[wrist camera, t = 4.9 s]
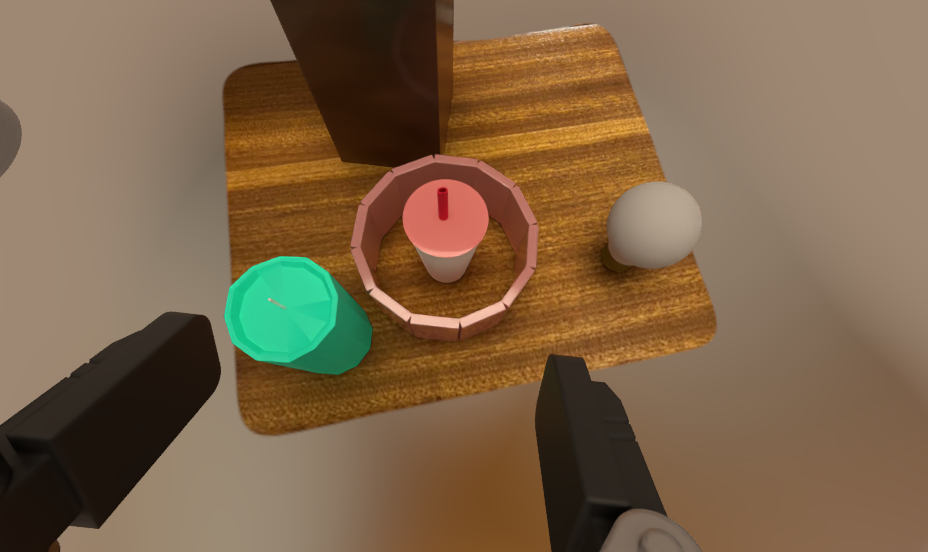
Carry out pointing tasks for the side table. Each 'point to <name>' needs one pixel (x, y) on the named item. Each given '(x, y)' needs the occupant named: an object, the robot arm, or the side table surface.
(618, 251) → the light bulb
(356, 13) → the stand
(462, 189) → the cup
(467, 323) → the pink segmented ring
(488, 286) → the side table surface
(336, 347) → the candle
